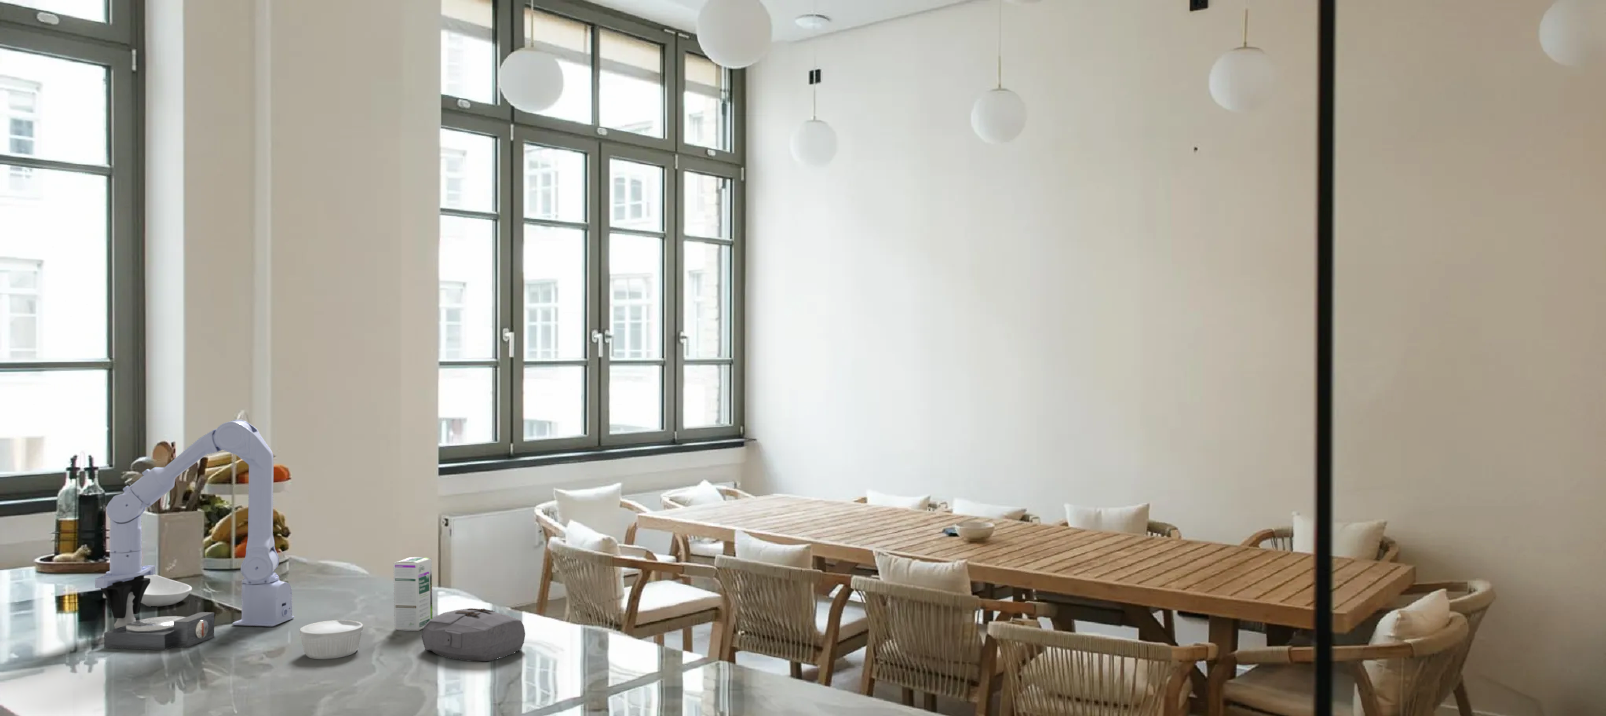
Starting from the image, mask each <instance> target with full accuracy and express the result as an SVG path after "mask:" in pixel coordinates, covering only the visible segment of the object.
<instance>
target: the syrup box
mask: <svg viewBox="0 0 1606 716" xmlns="http://www.w3.org/2000/svg"><path fill="white" fill-rule="evenodd" d="M432 562H433V560H432V558H431V557H424V556H413V557H409V556H408V557H407V558H403V559H402V560H399V561H398V560H397V561H395V562H393V603H394V604H393V609H394V610H393V611H394V612H393V614H394V615H393V616H394V618H393V619H394V624H393V625H394V630H398V631H404V632H405V631H409V632H412V631H413V632H419V631H420V630H423V629H424V626H425V625H426V623H427V622H428V621H430V620H431V619H432V618H433V617H434V616H433V570H432V568H433V567H432Z"/></svg>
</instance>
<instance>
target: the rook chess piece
mask: <svg viewBox="0 0 1606 716" xmlns="http://www.w3.org/2000/svg"><path fill="white" fill-rule="evenodd" d="M134 598H135V596H134V595H133V592H130V593H129V595H128V599H127V607H126V615H125V618H116V622H114V623H113V627H114V629H117V628H120V627H123V626H126V625H127V624H129V623H131V622H134V621H137V620H136V617H135V614H133V605H134V604H133V602H132V601H133V599H134Z"/></svg>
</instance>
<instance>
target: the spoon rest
mask: <svg viewBox="0 0 1606 716" xmlns="http://www.w3.org/2000/svg"><path fill="white" fill-rule="evenodd" d="M144 578H150V584H149V585H148V587H147V588H146V590H145V592H144V595H143V597H142V600H141V604H143V605H145V606H146V607H151V606H157V607H166V606H172V605H176V604H177V603H179V602H182V601H183V600H185V599H186V598H187V597H188V596H189V595H190V593H191V592H192V590H193V587H192V586H191V585H189V584H187V583H184V582H181V581H176V580H174V579H170V578H168V577H164V576H161V575H158V574H156V573H155V574H154V575H147V576H144ZM102 598H103V599H107V598H106V596H105V594H104V593H103V592H102Z"/></svg>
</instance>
